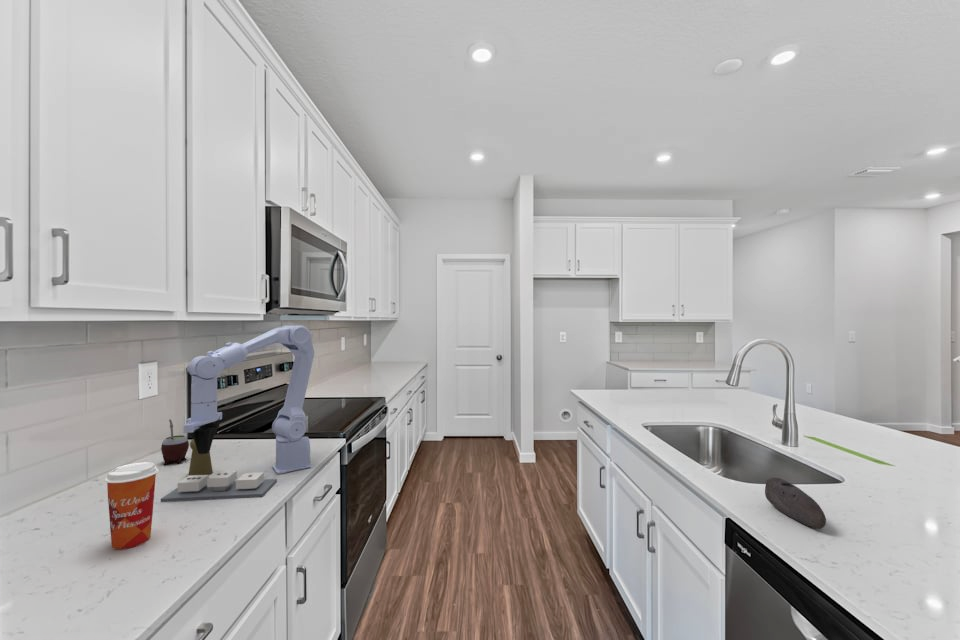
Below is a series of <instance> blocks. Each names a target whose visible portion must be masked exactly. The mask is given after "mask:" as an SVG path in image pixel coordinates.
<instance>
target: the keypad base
mask: <svg viewBox="0 0 960 640" xmlns="http://www.w3.org/2000/svg"><path fill="white" fill-rule="evenodd" d="M277 482H278V478H270V479H267V478H266V479H265V478H264V481H263V482H262V483H261V484H260V485H259V486H258V487H257V488H250V489H236V480H235V481H234V482H232V483H231V484H230V485H229V486H224V487H207V485H206V486H205V487H203V488H202V489H201V490H199V491H186V492H178V487H176V488H175V489H173V490H172V491H170V492H169V493H167V494H166V495H164V496H163V497H161V498H160V503H165V502H166V503H167V502H186V501H187V502H188V501H209V500H210V501H211V500H228V499H246V498H247V499H248V498H251V499H252V498H262V497H264V496H265V495H266V494H267V493H268V492H269V491H270V490H271V489H272V488H273V487H274V486H275V484H276V483H277Z"/></svg>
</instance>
